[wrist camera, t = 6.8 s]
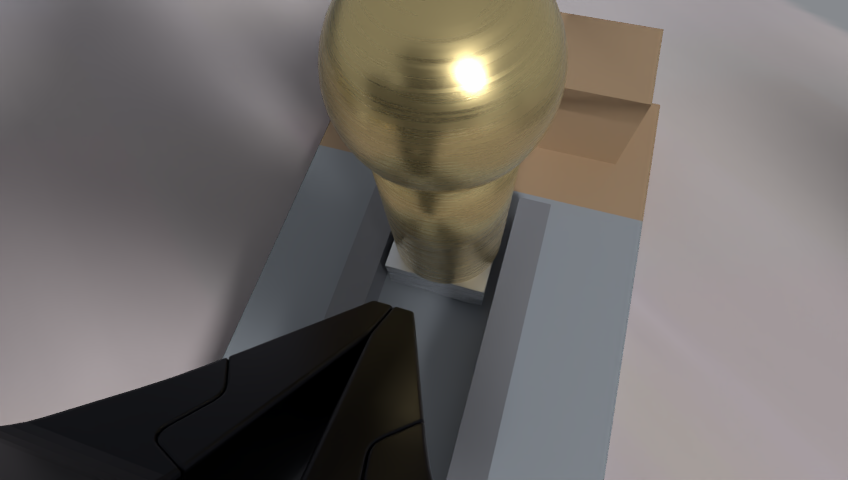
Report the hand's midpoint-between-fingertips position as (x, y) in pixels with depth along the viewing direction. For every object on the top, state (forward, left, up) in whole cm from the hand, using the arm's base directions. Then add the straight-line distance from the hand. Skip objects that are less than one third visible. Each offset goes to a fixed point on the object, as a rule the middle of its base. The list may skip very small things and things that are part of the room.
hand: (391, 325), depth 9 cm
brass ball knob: (+5, +5, -5) cm, 8 cm away
